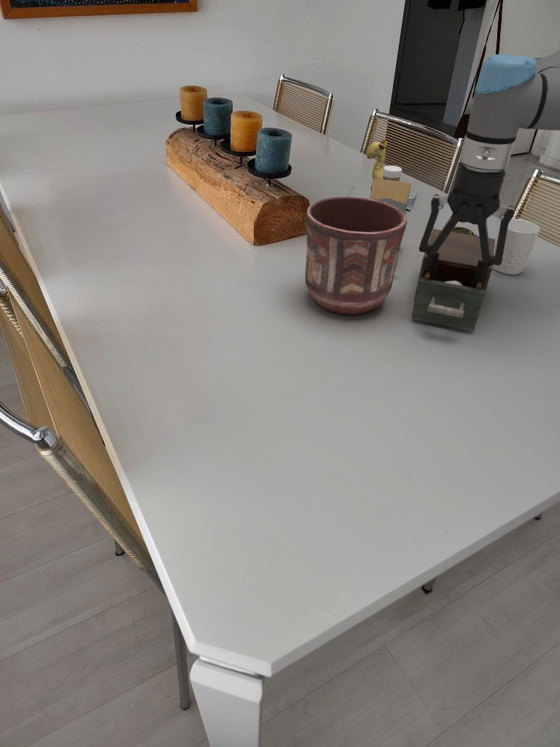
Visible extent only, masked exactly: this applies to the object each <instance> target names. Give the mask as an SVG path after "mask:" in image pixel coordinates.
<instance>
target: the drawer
mask: <svg viewBox="0 0 560 747" xmlns="http://www.w3.org/2000/svg"><path fill="white" fill-rule="evenodd" d="M475 271H476V270H473V269H467V268H462V267H456V266H451V265H445V264H440V263H437V267H436V271H435V275H434V280H429V277H430V272H426V275H425V278H420V280H419V279H418V280H419V284H418V283H417V284H418V289H417V288H416V289H417V293H416V292H415V294H416V298H415V297H414V298H415V301H414V303H413V308H412V312H411V318H412V319H416V320H421V321H426V322H431V323H436V324H440V325H445V326H451V327H454V328H455V327H456V328H460V329H465V330H469V331H475V328H476V324H477V321H478V318H479V314H480V311H481V308H482V304H483V301H484V298H485V294H486V291H485V290H482V289H481V286H482V282H478V283H477V286H476V288H471V285H472V282H473V278H474V275H475ZM447 281H458V282H460V283H461V284H462V286H461V285H456V284H450V283H445V282H447Z"/></svg>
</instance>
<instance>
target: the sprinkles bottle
mask: <svg viewBox="0 0 560 747" xmlns="http://www.w3.org/2000/svg"><path fill="white" fill-rule="evenodd" d="M402 174H403V169H402V167H400V166H397V165H384V166H383V180H392V181H399V182H400V181H401V177H402Z"/></svg>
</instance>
